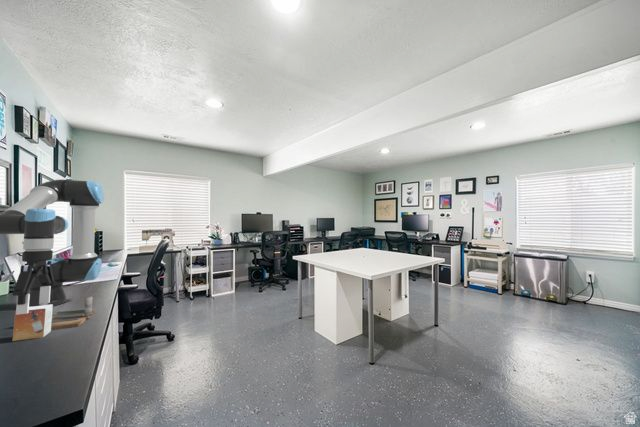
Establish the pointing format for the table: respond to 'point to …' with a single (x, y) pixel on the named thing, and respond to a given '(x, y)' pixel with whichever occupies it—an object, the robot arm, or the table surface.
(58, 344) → the table surface
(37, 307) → the small box
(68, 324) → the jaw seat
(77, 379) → the table surface
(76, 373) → the table surface
